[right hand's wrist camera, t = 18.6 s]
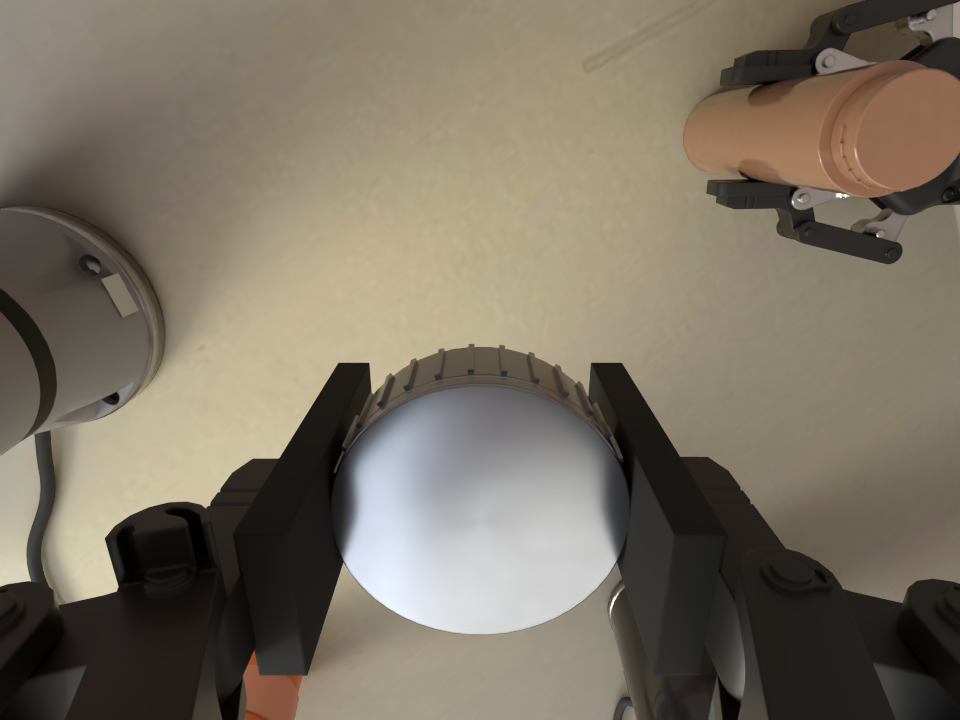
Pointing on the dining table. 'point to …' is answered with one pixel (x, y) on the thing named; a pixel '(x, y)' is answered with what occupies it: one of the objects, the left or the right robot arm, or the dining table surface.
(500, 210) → the dining table surface
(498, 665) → the dining table surface
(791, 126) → the jar
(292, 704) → the cup with straw
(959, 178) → the left robot arm
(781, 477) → the dining table surface
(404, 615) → the lid
